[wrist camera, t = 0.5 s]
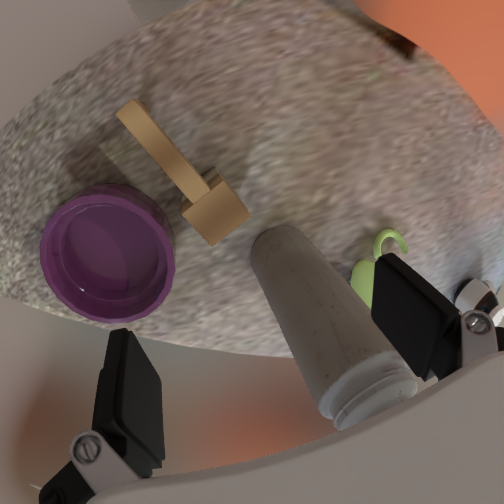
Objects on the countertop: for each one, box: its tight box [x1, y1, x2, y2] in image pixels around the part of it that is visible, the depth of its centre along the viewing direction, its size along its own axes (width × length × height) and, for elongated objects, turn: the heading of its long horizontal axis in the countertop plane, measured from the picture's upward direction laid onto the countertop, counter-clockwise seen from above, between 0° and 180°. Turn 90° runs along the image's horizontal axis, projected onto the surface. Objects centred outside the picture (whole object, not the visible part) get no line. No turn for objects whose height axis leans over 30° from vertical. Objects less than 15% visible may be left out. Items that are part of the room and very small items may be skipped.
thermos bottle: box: [250, 226, 418, 431], centre depth 27 cm, size 8×8×28 cm
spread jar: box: [454, 278, 504, 327], centre depth 50 cm, size 12×11×12 cm
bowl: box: [40, 183, 175, 324], centre depth 31 cm, size 16×16×5 cm
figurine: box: [349, 229, 408, 309], centre depth 45 cm, size 18×27×6 cm
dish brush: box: [115, 99, 251, 247], centre depth 27 cm, size 15×5×7 cm, turn 36°
